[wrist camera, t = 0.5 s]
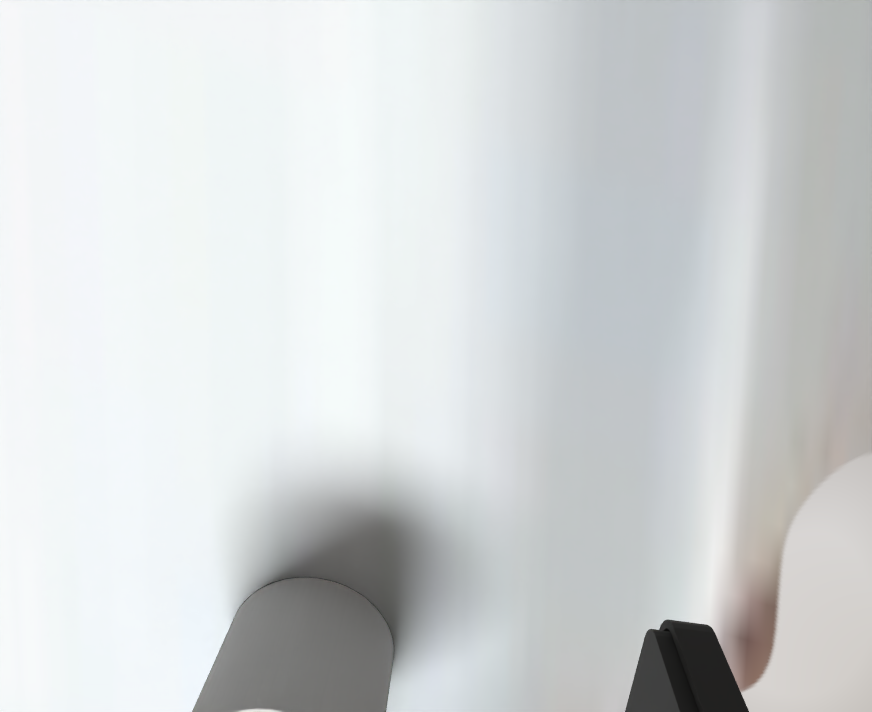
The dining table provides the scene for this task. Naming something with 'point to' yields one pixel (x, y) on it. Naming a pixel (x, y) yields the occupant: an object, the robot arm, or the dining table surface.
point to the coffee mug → (302, 653)
